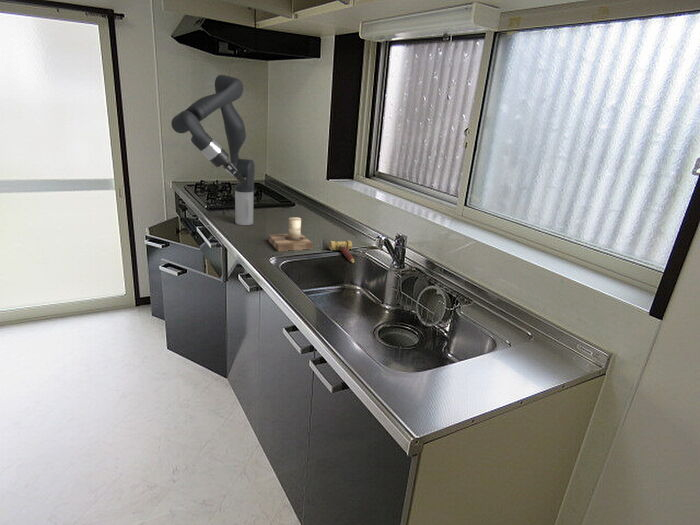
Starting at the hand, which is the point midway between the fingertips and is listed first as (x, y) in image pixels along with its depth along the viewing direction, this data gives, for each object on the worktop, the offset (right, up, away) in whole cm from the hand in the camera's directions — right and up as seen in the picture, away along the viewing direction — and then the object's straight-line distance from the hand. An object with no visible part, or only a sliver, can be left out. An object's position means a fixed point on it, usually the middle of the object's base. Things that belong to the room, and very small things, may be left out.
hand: (242, 180), depth 194 cm
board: (+19, -27, +13) cm, 36 cm away
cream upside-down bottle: (+21, -27, +14) cm, 37 cm away
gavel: (+45, -33, +6) cm, 56 cm away
